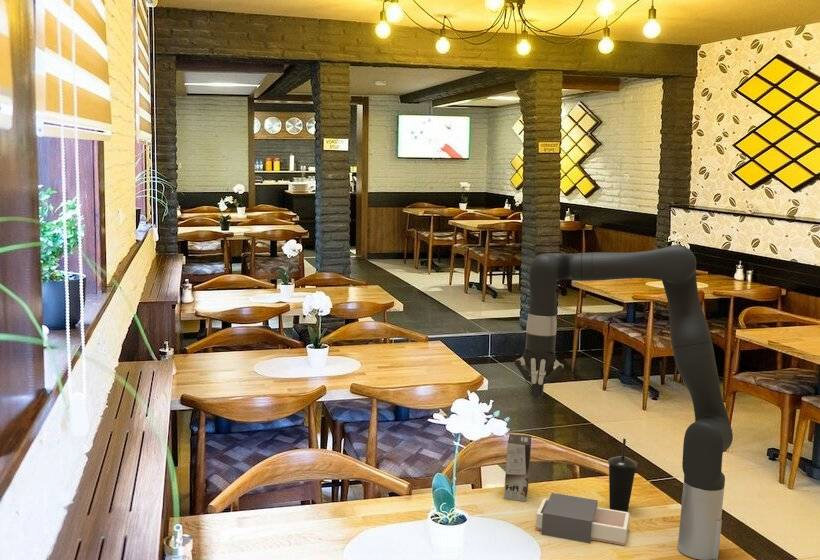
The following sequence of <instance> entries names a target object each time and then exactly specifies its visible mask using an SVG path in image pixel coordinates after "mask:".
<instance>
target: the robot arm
mask: <svg viewBox="0 0 820 560" xmlns="http://www.w3.org/2000/svg"><path fill="white" fill-rule="evenodd" d="M528 273H529V279H528V280H529V292H530V293H529V304H528V316H527V321H526V327H525V328H526V333H525V335H526V336H525V348H524V349H525V350H524V352H523V354H522V356H521V357H520V358H517V359H516V360H514V365H515V366H516V367H517V369H518V371H519V372H520V374H521V375H522V377H523V378H524V380H525V381H526V382H527V381H528V382H530V383H531V392H530V394H531V396H533V398H534V399H540V398H541V397H542V396H543V395H544V388H545V387H544V386H545V384H549V383H550V382H551V381H553V379H555V377H557V375H558V374H559V373H561V371H563V369H564V367H565V366H564V364H563V363H560V362H559V360H557V355H556V341H557V340H556V339H557V329H558V328H557V327H558V326H557V325H558V324H557V313H558V312H557V311H558V310H557V309H558V295H557V293H556V292H557V281H558V280H560V281H561V280H572V281H578V282H580V281H581V282H583V281H584V282H589V281H591V282H593V281H595V282H596V281H609V280H619V279H650V280H651V279H653V280H658V281H661V283H662V286H663V288H664V293H665V295H666V299H667V303H668V304H667V305H668V314H669V315H668V316H669V321H668V322H669V334H670V343H671V348H672V353H673V354H672V355H673V358H674V362H675V367H676V369H677V371H678V373H679V375H680V377H681V379H682V381H683V383H684V385H685V386H686V388H687V390H688V392H689V394H690V397H691V401H692V404H693V413H694V422H692V423H691V424H690V425H689V426H688V427H687V428H686V430H685V432H684V437H683V443H682V444H683V447H682V471H683V476H684V477H683V485H682V496H681V505H680V507H681V508H680V517H679V518H680V519H679V526H678V527H679V530H678V539H677V550H678V551H679V553H681V554H683V555H685V556H686V557H689V558H691V559H695V560H696V559H697V560H719V554H720V543H721V533H722V523H723V520H722V514H723V506H724V505H723V504H724V496H725V495H724V494H725V485H726V476H725V474H724V473H723V471H722V468H723V466H722V465H723V454H724V453H725V452H726V451H727V450H729V449H730V447H731V446H732V443H733V439H734V435H733V428H732V426H731V421H730V419H729V416H728V412H727V408H726V406H725V403H724V399H723V394H722V390H721V383H720V379H719V374H718V373H719V372H718V367H717V363H716V361H717V360H716V356H715V350H714V344H713V341H712V336H711V333H710V332H711V331H710V329H709V325H708V322H707V319H706V316H705V313H704V310H703V308H702V305H701V301H700V298H699V293H698V292H699V291H698V282H697V281H698V280H697V258H696V255H694V253H693V251H692V250H691V249H689V248H688V247H686V246H685V245H681V244H672V245H669V246H666V247H662V248H656V249H653V250H652V249H651V250H647V251H646V250H644V251H636V252H634V251H632V252H611V251H610V252H609V251H607V252H605V251H604V252H603V251H602V252H601V251H600V252H599V251H598V252H597V251H596V252H594V251H592V252H578V253H559V252H556V253H555V252H554V253H553V252H551V253H550V252H549V253H548V252H547V253H541V254H540V255H537V256H536V257H534V258H533V260H532V261H531V263H530V266H529V272H528ZM525 365H527V366H528V368H529V369H530V371H529V370H528V369H527V367H526V366H525ZM552 366H553V367H552ZM551 367H552V368H553V371H551V373H550V374H549V375H548V376H547V377H546V374H547V371H548V370H549V369H550V368H551Z"/></svg>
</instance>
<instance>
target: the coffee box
mask: <svg viewBox="0 0 820 560" xmlns="http://www.w3.org/2000/svg"><path fill="white" fill-rule="evenodd" d="M506 448H507V449H506V459H505V461H506V462H505V463H506V464H505V476H504V477H505V478H504V492H503V499H505V500H512V501H521V502H526V501H527V498H528V492H529V480H530V468H531V467H530V466H531V465H530V464H531V452H532V451H531V449H532V436H531V435H529V434H528V435H527V434H526V435H525V434H514V433H512V434H511V433H509V436H508V440H507V447H506Z"/></svg>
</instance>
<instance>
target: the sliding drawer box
mask: <svg viewBox="0 0 820 560" xmlns="http://www.w3.org/2000/svg"><path fill="white" fill-rule="evenodd" d="M548 500H549V498H545V497H544V498H543V499H542V502H541V503H540V506H538V510H537V512H536V517H535V518H536V519H535V530H537V531H542V517H543V511H544V509H545V507H546V505H547V502H548ZM629 520H630V512H629V511H628V512H623V511H617V510H611V509H610V508H605V507H599V506H597V507H596V511H595V514H594V518H593V521H592V530H591V541H592V540H593V541H598V542H603V543H604V542H605V543H610V544H615V545H620V546H626V541H627V536H628V531H629Z"/></svg>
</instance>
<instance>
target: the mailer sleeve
mask: <svg viewBox="0 0 820 560" xmlns="http://www.w3.org/2000/svg"><path fill="white" fill-rule="evenodd" d="M548 499H549V500H548V502H547V505H546V507H545V509H544V511H543V517H542V530H541V531H540V532H541V535H542V536H547V537H552V538H553V537H554V538H559V539H563V540H564V539H565V540H570V541H576V542H581V543H586V544H591V542H592V539H591V530H592V521H593V518H594V514H595V511H596V507H598V503H599V502H598V499H593V498H586V497H580V496H574V495H567V494H562V493H558V492H557V493H555V492H551V494H550V496H549V498H548Z"/></svg>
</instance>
